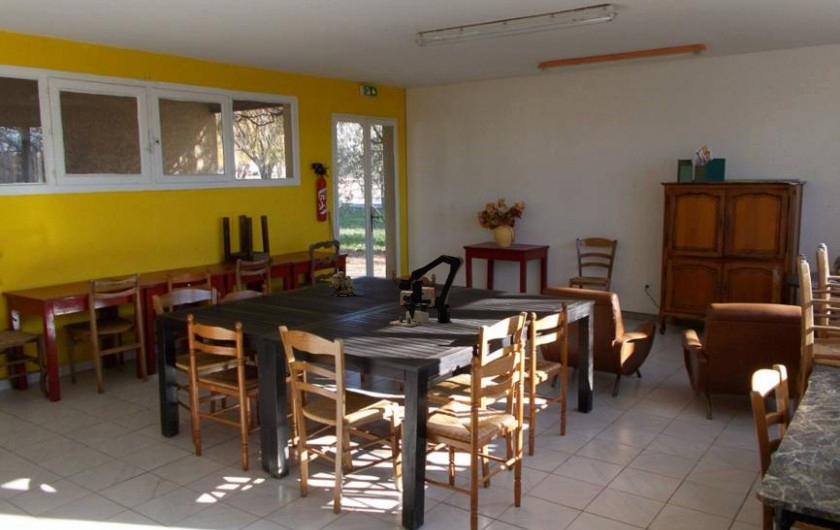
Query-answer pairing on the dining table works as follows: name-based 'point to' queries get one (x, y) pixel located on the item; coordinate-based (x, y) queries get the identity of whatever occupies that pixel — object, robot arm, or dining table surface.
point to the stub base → (404, 322)
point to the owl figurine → (342, 284)
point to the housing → (418, 316)
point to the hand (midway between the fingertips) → (417, 317)
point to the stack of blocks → (427, 294)
